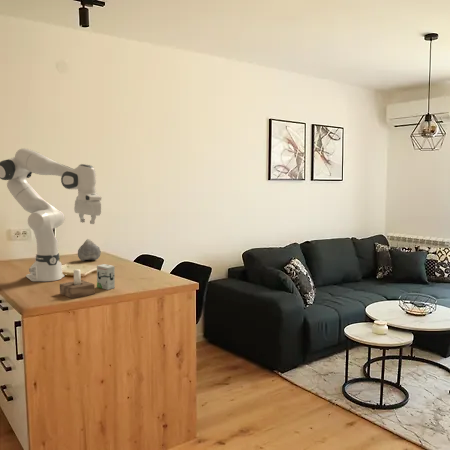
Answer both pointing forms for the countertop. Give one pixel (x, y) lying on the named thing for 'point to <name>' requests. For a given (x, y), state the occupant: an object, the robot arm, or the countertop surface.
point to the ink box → (105, 276)
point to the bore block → (77, 289)
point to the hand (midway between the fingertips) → (87, 223)
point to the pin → (77, 277)
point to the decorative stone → (89, 251)
